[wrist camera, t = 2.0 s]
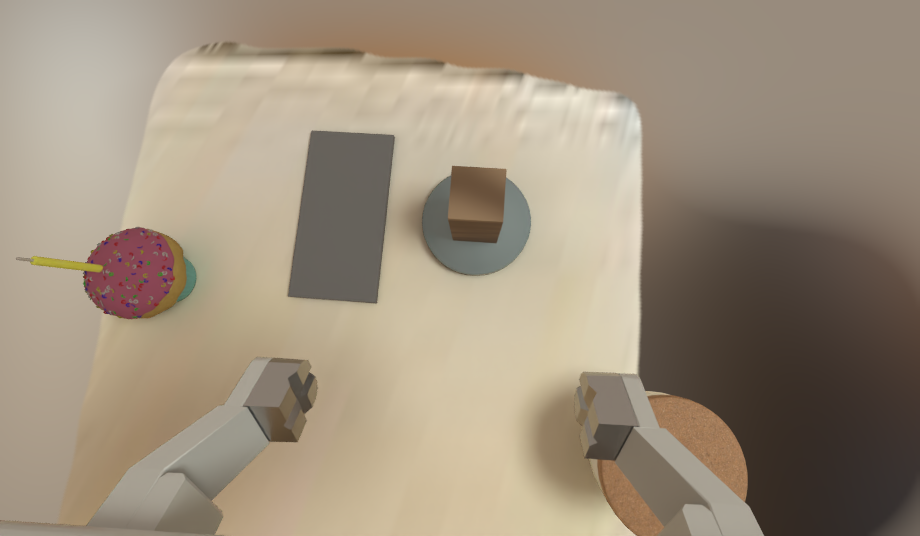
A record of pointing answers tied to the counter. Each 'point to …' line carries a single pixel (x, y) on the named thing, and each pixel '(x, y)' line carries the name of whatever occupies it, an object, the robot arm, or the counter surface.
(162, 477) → the robot arm
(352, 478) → the counter surface
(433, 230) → the slate saucer
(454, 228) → the brown rectangular block
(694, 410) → the lidded jar
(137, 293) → the cupcake
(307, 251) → the rubber mat
